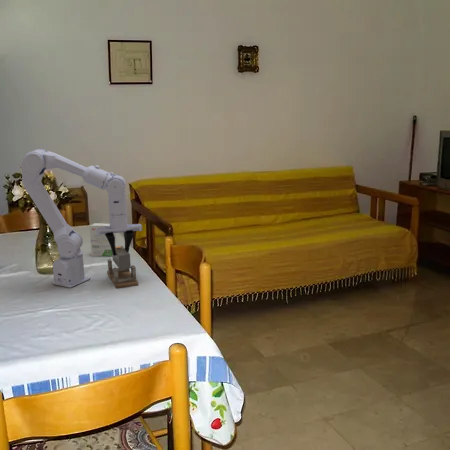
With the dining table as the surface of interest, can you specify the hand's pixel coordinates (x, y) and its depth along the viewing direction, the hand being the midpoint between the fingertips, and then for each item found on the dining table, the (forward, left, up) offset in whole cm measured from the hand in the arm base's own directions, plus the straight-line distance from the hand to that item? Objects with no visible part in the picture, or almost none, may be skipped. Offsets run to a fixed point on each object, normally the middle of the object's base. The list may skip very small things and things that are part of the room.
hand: (120, 254), depth 175 cm
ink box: (+19, +25, -9) cm, 33 cm away
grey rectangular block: (0, 0, -3) cm, 3 cm away
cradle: (0, 0, -9) cm, 9 cm away
